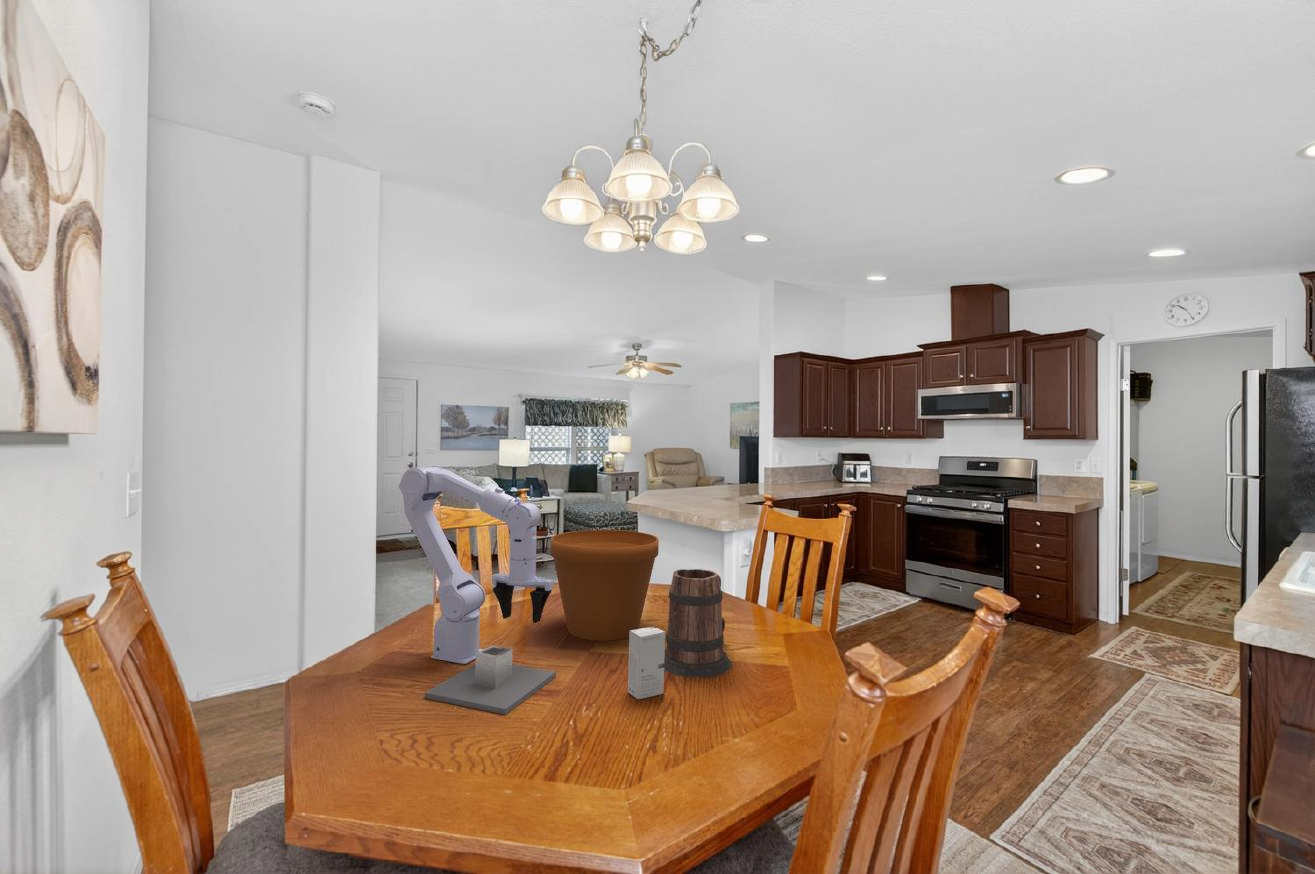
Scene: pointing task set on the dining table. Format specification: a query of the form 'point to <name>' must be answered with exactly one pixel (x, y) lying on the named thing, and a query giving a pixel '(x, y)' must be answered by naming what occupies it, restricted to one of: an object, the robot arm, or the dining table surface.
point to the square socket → (493, 666)
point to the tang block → (491, 689)
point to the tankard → (695, 625)
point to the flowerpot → (603, 580)
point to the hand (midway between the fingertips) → (521, 619)
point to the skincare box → (646, 662)
